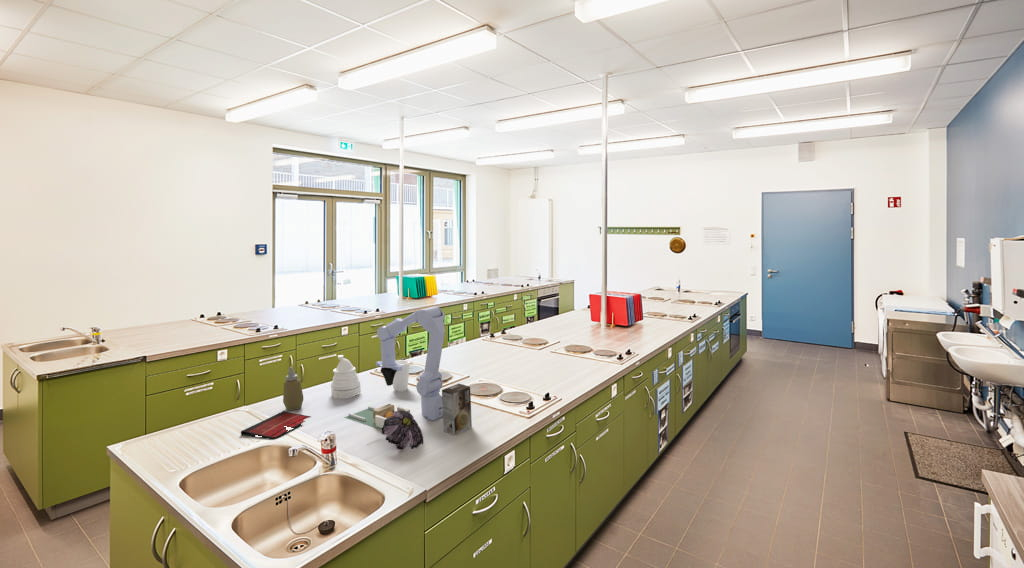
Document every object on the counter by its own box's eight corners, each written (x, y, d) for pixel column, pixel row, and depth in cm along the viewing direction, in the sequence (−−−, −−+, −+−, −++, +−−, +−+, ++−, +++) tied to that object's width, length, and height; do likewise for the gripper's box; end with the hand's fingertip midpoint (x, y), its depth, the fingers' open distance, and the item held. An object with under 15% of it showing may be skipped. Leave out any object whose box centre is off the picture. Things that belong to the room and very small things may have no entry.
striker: (394, 417, 190) (394, 405, 189) (378, 424, 183) (377, 411, 183) (389, 415, 192) (389, 403, 191) (373, 422, 185) (372, 410, 185)
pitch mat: (413, 420, 188) (413, 416, 188) (385, 433, 177) (385, 428, 176) (372, 408, 202) (372, 404, 202) (344, 419, 191) (343, 414, 191)
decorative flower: (391, 429, 156) (384, 402, 169) (380, 458, 159) (375, 429, 172) (432, 431, 163) (423, 406, 176) (422, 459, 166) (413, 432, 179)
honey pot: (325, 397, 218) (323, 358, 217) (343, 388, 231) (341, 351, 229) (349, 399, 215) (347, 360, 213) (366, 390, 227) (364, 353, 225)
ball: (390, 409, 188) (391, 419, 188) (382, 412, 185) (383, 423, 185) (397, 410, 185) (398, 420, 186) (389, 414, 182) (390, 424, 182)
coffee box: (460, 423, 184) (458, 383, 182) (472, 427, 180) (471, 386, 178) (442, 431, 177) (441, 389, 175) (454, 435, 173) (453, 392, 171)
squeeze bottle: (296, 412, 200) (293, 370, 198) (279, 411, 202) (276, 369, 200) (308, 405, 208) (305, 365, 206) (291, 404, 210) (288, 364, 208)
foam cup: (413, 386, 231) (412, 359, 230) (407, 392, 222) (406, 365, 221) (394, 386, 232) (393, 359, 231) (387, 392, 223) (386, 365, 222)
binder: (240, 430, 178) (282, 410, 198) (240, 436, 178) (282, 416, 198) (275, 436, 173) (314, 415, 193) (275, 442, 173) (315, 421, 193)
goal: (410, 419, 187) (409, 409, 187) (386, 429, 178) (386, 419, 177) (399, 416, 191) (398, 406, 191) (375, 426, 182) (375, 415, 181)
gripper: (369, 353, 203) (371, 384, 205) (392, 358, 195) (393, 390, 196) (382, 350, 209) (384, 380, 210) (405, 354, 201) (406, 385, 202)
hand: (389, 384), depth 204 cm, fingers closed
